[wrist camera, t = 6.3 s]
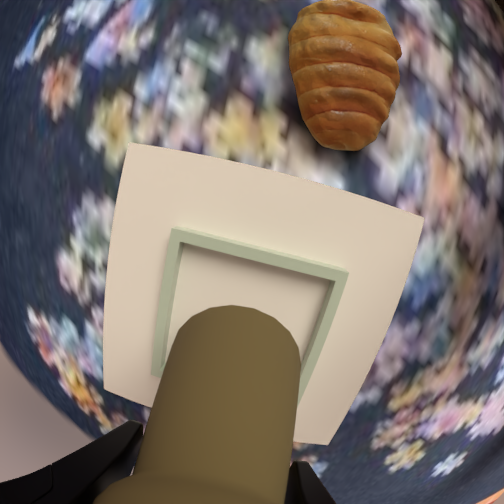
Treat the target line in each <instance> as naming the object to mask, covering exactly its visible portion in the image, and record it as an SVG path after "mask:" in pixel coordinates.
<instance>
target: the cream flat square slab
mask: <svg viewBox="0 0 504 504" xmlns="http://www.w3.org/2000/svg"><path fill="white" fill-rule="evenodd" d="M424 219H425V218H423V217H420V216H418V215H415V214H412V213H409V212H407V211H404V210H401V209H398V208H395V207H393V206H390V205H387V204H384V203H381V202H378V201H375V200H372V199H369V198H366V197H363V196H360V195H357V194H354V193H350V192H347V191H344V190H341V189H337V188H334V187H331V186H327V185H324V184H320V183H317V182H313V181H310V180H306V179H303V178H299V177H295V176H291V175H288V174H284V173H280V172H276V171H272V170H268V169H264V168H260V167H256V166H251V165H247V164H243V163H238V162H234V161H229V160H225V159H220V158H215V157H210V156H205V155H200V154H195V153H190V152H185V151H179V150H173V149H168V148H162V147H156V146H149V145H143V144H136V143H129V145H128V149H127V153H126V157H125V162H124V166H123V171H122V175H121V180H120V185H119V190H118V196H117V201H116V207H115V213H114V219H113V226H112V232H111V240H110V248H109V256H108V265H107V276H106V288H105V303H104V326H103V374H104V389H105V390H107V391H109V392H112V393H114V394H117V395H119V396H122V397H124V398H127V399H129V400H132V401H134V402H137V403H140V404H142V405H145V406H148V407H151V408H152V406H153V402H154V399H155V396H156V393H157V390H158V386H159V383H160V380H161V377H162V374H163V371H164V368H165V365H166V362H167V359H168V356H169V353H170V350H171V347H172V344H173V342H174V339H175V337H176V335H177V332H178V330H179V329H180V328H181V327H182V326H183V325H184V324H185V322H186V321H187V320H188V319H189V318H190V317H191V316H193V315H195V314H198V313H200V312H202V311H204V310H206V309H208V308H211V307H219V306H226V305H236V306H243V307H249V308H255V309H257V310H259V311H261V312H263V313H265V314H268V315H270V316H272V317H274V318H275V319H276V320H278V321H279V322H280V323H281V324H282V325H283V326H284V327H285V328H286V329H288V330H289V331H290V333H291V335H292V336H293V338H294V340H295V342H296V344H297V345H298V347H299V353H300V360H301V372H300V383H299V393H298V403H297V413H296V421H295V430H294V438H293V441H294V442H302V443H311V444H322V445H328V444H329V442H330V441H331V439H332V438H333V436H334V434H335V433H336V431H337V429H338V428H339V426H340V424H341V423H342V421H343V419H344V417H345V416H346V414H347V412H348V410H349V408H350V407H351V405H352V403H353V401H354V399H355V397H356V396H357V394H358V392H359V390H360V388H361V386H362V384H363V382H364V380H365V378H366V376H367V374H368V372H369V370H370V368H371V366H372V364H373V362H374V359H375V357H376V355H377V353H378V351H379V348H380V346H381V344H382V342H383V339H384V337H385V335H386V332H387V330H388V328H389V325H390V323H391V320H392V318H393V315H394V313H395V310H396V307H397V305H398V302H399V299H400V297H401V294H402V291H403V288H404V286H405V283H406V280H407V277H408V274H409V271H410V268H411V265H412V261H413V258H414V255H415V252H416V248H417V245H418V241H419V238H420V234H421V231H422V227H423V223H424Z"/></svg>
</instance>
